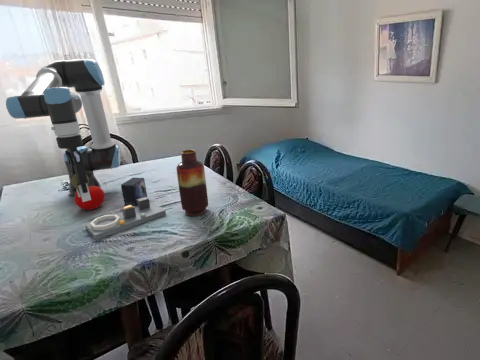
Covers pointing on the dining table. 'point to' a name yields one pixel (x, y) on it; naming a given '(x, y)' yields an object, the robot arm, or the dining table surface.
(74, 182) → the light bulb
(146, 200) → the plain toggle
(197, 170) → the vase
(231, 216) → the dining table surface
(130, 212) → the tagged toggle
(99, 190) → the tomato
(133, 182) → the small box
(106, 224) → the breaker panel
